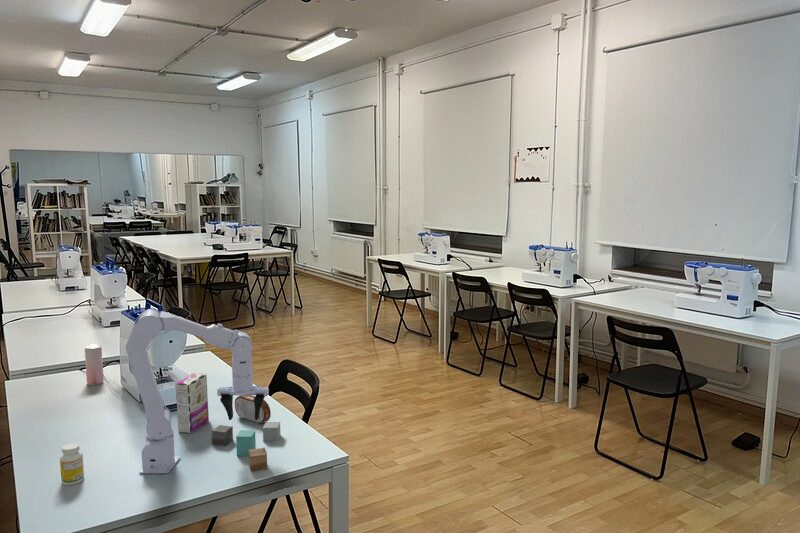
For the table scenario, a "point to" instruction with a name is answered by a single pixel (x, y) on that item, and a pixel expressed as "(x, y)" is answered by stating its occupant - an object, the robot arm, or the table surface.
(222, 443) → the charcoal block
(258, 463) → the walnut block
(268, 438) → the slate-grey block
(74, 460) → the supplement bottle
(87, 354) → the beverage can
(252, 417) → the tin
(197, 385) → the candy bar box
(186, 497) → the table surface
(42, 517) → the table surface
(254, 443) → the teal block
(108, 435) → the table surface
